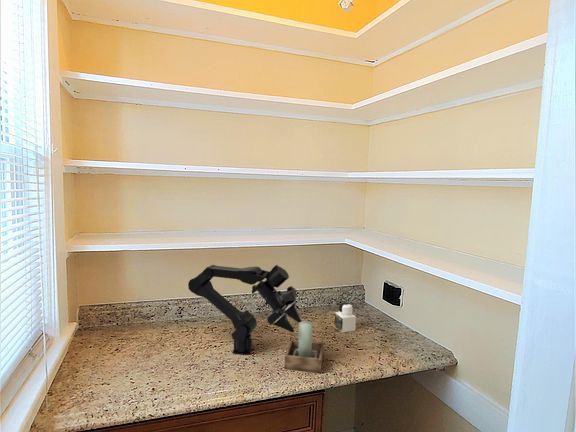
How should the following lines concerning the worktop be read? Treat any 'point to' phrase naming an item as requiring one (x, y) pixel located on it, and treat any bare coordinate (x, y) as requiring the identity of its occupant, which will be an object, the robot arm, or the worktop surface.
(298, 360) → the walnut box
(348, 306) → the medicine bottle
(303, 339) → the sage peg
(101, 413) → the worktop surface
